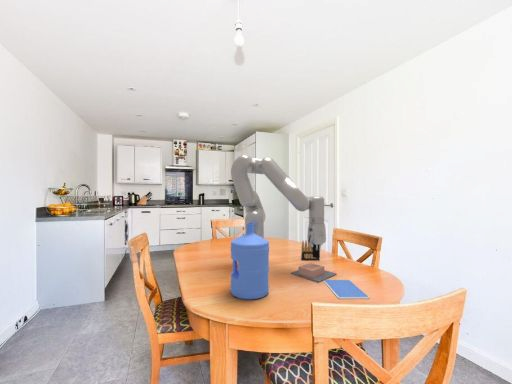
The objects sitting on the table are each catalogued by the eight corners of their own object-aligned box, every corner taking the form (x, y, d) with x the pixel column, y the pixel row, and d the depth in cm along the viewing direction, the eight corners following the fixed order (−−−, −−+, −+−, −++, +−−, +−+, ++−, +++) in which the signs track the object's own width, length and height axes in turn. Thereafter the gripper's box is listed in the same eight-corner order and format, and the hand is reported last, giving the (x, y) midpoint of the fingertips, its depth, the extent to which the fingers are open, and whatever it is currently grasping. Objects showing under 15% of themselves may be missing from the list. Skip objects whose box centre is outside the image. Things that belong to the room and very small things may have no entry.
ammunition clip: (318, 259, 150) (318, 239, 149) (319, 260, 148) (319, 240, 148) (301, 259, 150) (301, 239, 149) (301, 260, 148) (301, 240, 148)
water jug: (271, 286, 107) (272, 221, 107) (264, 302, 92) (265, 227, 92) (237, 283, 111) (237, 220, 110) (224, 298, 95) (225, 225, 95)
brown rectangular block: (324, 273, 122) (312, 278, 116) (310, 269, 128) (298, 274, 122) (324, 266, 122) (312, 270, 116) (310, 263, 128) (298, 266, 121)
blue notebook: (322, 282, 114) (322, 279, 114) (349, 282, 115) (349, 279, 115) (338, 300, 95) (338, 297, 95) (370, 300, 95) (370, 297, 95)
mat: (318, 282, 112) (318, 281, 112) (290, 273, 124) (290, 272, 124) (336, 274, 123) (336, 273, 123) (309, 267, 135) (309, 266, 135)
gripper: (314, 222, 117) (313, 261, 117) (331, 220, 127) (330, 256, 127) (301, 221, 122) (300, 258, 122) (318, 219, 132) (318, 253, 132)
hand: (316, 257), depth 125 cm, fingers closed
